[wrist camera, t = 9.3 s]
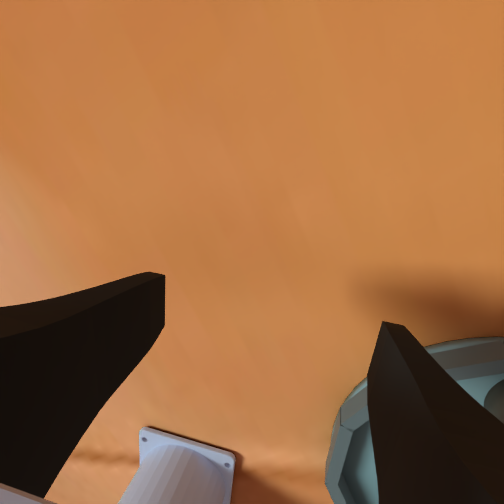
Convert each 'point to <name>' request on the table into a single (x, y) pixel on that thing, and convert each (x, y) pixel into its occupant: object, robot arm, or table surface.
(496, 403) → the brown ball-rimmed cylinder
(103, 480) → the table surface
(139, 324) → the robot arm
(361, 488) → the round groove tray
